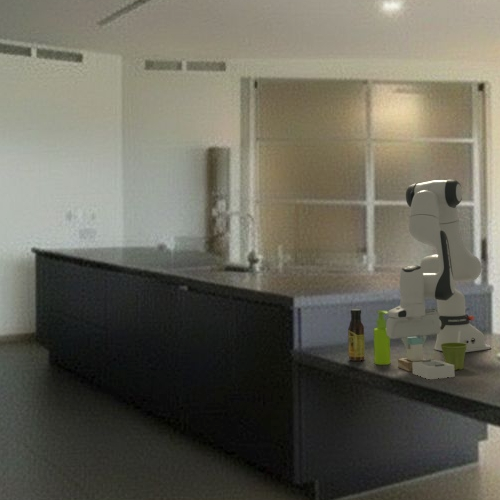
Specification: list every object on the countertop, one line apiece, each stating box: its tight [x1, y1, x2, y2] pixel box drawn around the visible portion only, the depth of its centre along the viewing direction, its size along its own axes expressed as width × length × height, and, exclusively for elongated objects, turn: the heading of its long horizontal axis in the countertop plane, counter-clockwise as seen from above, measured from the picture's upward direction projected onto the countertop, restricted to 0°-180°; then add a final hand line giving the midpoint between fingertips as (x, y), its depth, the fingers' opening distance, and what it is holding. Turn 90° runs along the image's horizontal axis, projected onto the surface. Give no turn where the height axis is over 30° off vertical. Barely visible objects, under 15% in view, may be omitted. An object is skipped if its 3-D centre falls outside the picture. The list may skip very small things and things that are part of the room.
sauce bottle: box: [347, 308, 366, 362], centre depth 294 cm, size 6×6×20 cm
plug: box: [405, 336, 424, 361], centre depth 274 cm, size 4×5×8 cm
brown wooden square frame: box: [397, 357, 427, 372], centre depth 274 cm, size 9×10×3 cm
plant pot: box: [440, 343, 467, 371], centre depth 271 cm, size 9×9×9 cm
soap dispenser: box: [373, 310, 391, 366], centre depth 285 cm, size 6×7×20 cm
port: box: [412, 359, 456, 380], centre depth 261 cm, size 10×11×4 cm
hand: (414, 348), depth 274 cm, fingers closed on plug, 4 cm apart
